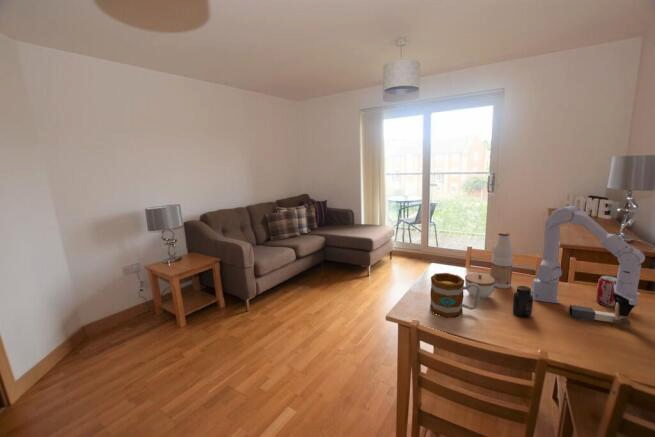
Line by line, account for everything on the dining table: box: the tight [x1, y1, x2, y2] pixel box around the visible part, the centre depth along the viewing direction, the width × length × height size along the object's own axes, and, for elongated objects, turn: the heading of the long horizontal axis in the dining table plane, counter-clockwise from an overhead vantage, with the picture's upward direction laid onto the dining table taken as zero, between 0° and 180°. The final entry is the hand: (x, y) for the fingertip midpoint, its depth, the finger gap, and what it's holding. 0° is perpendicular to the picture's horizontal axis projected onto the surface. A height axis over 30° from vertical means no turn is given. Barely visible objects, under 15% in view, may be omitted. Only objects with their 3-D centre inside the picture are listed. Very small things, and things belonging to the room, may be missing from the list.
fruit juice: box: [489, 231, 515, 289], centre depth 147 cm, size 9×9×28 cm
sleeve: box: [568, 304, 596, 323], centre depth 117 cm, size 7×4×4 cm, turn 63°
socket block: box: [607, 311, 632, 329], centre depth 112 cm, size 4×6×3 cm
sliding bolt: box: [594, 302, 624, 323], centre depth 113 cm, size 10×3×8 cm, turn 63°
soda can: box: [595, 275, 617, 307], centre depth 126 cm, size 7×7×12 cm
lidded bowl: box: [464, 272, 495, 300], centre depth 138 cm, size 13×13×11 cm
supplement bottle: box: [512, 285, 534, 319], centre depth 120 cm, size 7×7×12 cm
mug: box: [429, 272, 480, 319], centre depth 125 cm, size 20×14×15 cm
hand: (621, 313), depth 111 cm, fingers closed on sliding bolt, 2 cm apart
